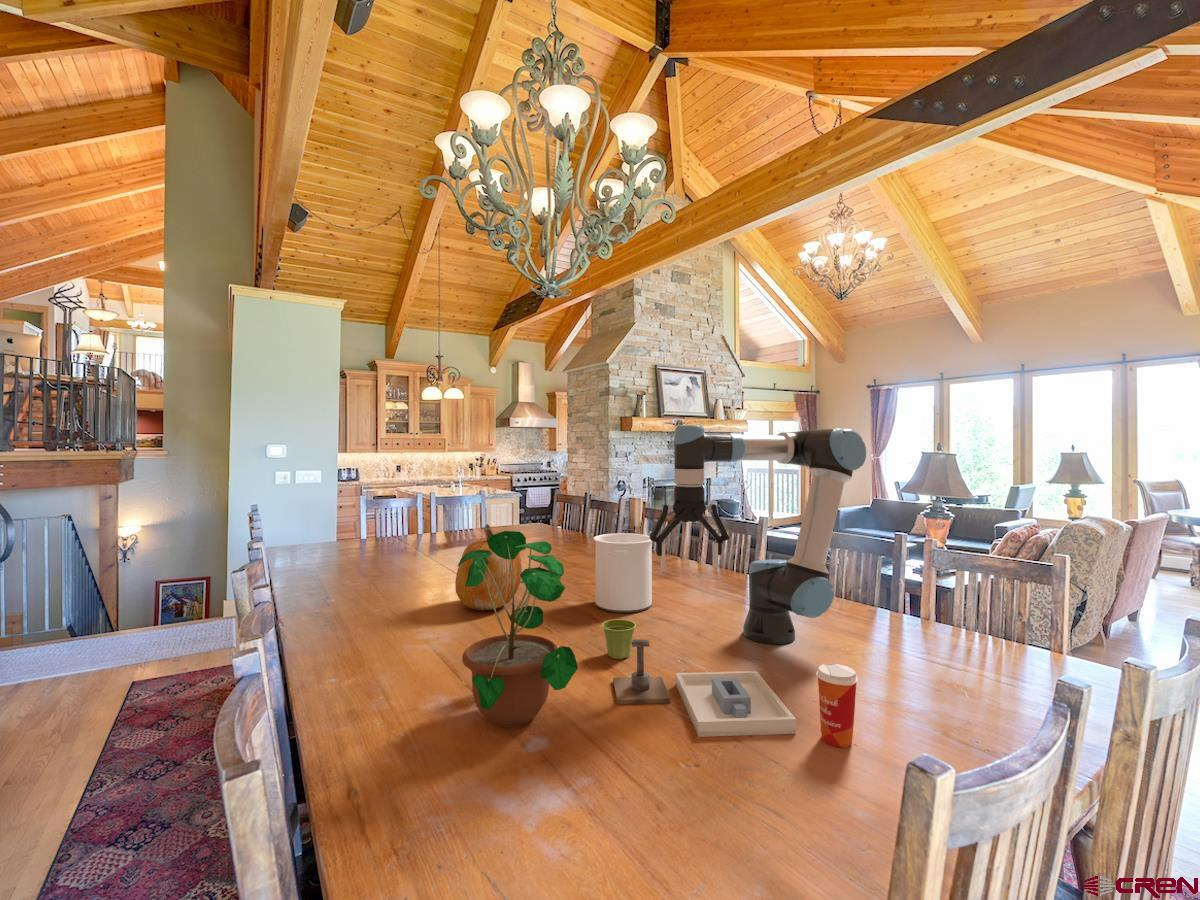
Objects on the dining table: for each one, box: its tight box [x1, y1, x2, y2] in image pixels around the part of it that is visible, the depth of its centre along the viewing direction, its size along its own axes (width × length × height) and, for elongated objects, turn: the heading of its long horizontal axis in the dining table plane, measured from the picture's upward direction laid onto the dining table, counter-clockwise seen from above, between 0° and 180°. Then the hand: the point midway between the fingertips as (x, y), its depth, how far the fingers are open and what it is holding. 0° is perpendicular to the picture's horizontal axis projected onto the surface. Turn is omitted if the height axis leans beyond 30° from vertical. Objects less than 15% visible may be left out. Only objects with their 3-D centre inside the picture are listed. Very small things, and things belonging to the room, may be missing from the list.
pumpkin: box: [455, 524, 523, 611], centre depth 204 cm, size 26×23×30 cm
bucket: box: [593, 532, 653, 614], centre depth 205 cm, size 26×22×24 cm
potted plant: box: [457, 530, 579, 728], centre depth 123 cm, size 31×29×40 cm
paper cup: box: [815, 663, 859, 749], centre depth 112 cm, size 8×8×14 cm
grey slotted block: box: [712, 678, 751, 718], centre depth 125 cm, size 13×6×3 cm, turn 3°
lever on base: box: [612, 638, 671, 705], centre depth 134 cm, size 12×12×12 cm
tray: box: [675, 670, 797, 738], centre depth 126 cm, size 20×24×3 cm
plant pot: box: [601, 618, 637, 660], centre depth 157 cm, size 9×9×9 cm
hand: (689, 568), depth 145 cm, fingers open, 13 cm apart
